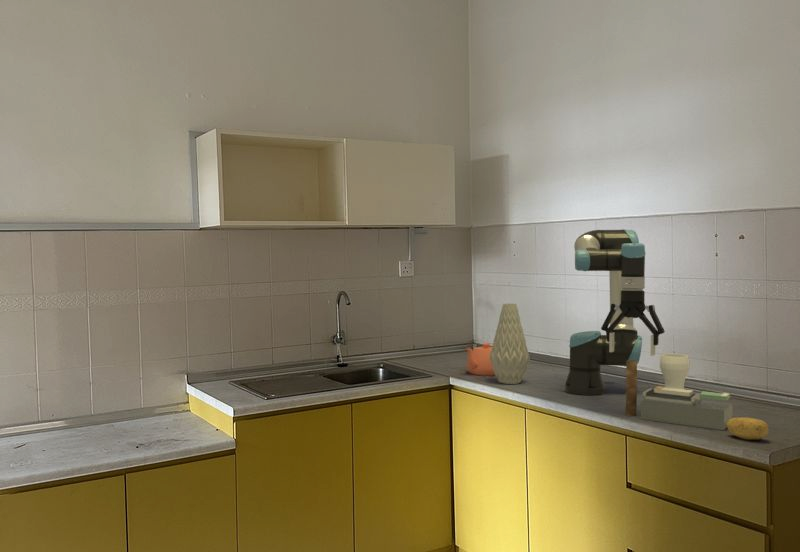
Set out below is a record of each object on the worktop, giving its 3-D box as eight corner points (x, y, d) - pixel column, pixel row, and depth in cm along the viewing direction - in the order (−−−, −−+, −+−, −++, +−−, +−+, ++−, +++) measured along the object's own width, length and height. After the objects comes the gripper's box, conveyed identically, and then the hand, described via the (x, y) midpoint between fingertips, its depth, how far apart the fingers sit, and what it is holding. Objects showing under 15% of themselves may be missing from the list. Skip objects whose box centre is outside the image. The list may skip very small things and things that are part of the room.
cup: (654, 392, 275) (655, 353, 275) (680, 391, 276) (681, 353, 276) (667, 397, 265) (667, 357, 264) (694, 397, 265) (695, 357, 265)
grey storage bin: (640, 419, 231) (641, 393, 230) (652, 411, 241) (652, 387, 241) (723, 430, 216) (724, 402, 216) (732, 422, 227) (732, 395, 227)
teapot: (479, 379, 304) (479, 347, 304) (451, 373, 317) (451, 344, 316) (517, 372, 320) (517, 343, 320) (490, 368, 333) (490, 339, 332)
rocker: (654, 392, 232) (654, 388, 232) (658, 390, 236) (658, 386, 236) (689, 396, 226) (689, 392, 226) (692, 394, 229) (693, 389, 229)
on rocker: (699, 397, 224) (699, 393, 224) (703, 395, 228) (703, 390, 228) (726, 400, 219) (726, 396, 219) (730, 398, 223) (730, 393, 223)
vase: (509, 377, 308) (509, 301, 307) (537, 383, 294) (538, 304, 293) (480, 381, 298) (480, 303, 297) (508, 387, 284) (509, 305, 283)
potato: (761, 444, 200) (762, 422, 200) (722, 437, 209) (722, 416, 208) (771, 440, 205) (772, 419, 204) (732, 433, 213) (733, 412, 213)
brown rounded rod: (624, 415, 237) (624, 361, 236) (627, 413, 239) (628, 360, 239) (634, 416, 235) (635, 362, 234) (637, 414, 237) (638, 361, 237)
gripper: (592, 289, 240) (591, 351, 240) (668, 291, 225) (667, 357, 226) (599, 288, 246) (599, 349, 246) (674, 290, 231) (673, 355, 232)
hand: (632, 353), depth 236 cm, fingers open, 13 cm apart
